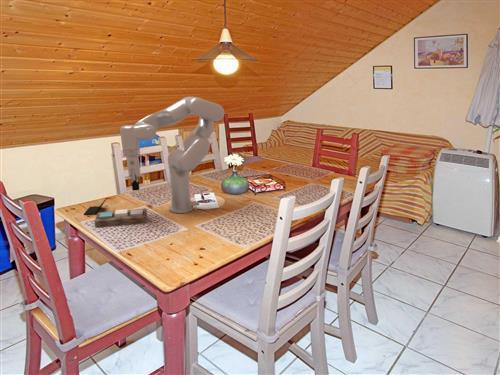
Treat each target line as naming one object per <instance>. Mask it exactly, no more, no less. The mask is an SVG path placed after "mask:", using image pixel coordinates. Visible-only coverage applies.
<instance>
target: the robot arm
mask: <svg viewBox="0 0 500 375" xmlns="http://www.w3.org/2000/svg"><path fill="white" fill-rule="evenodd" d="M190 116H198V117H199V120H198V123H197V125H196V127H194V129H193V130H192V131H191V132H190V133H189V134H188V135H187V136H186V138H185V139H183V142H182V144H183V148H184V150H182V149H180V148H179V149H173V150H171V151H170V152H169V153H168V155H167V166H168V170H169V179H170V180H169V181H170V194H171V195H170V196H171V197H170V198H171V205H170V206H169V207H168V211H170V212H171V213H174V214H184V213H190V212H192V211H193V210H194V208H195V207H196V206H200V201H197V200H193V201H192V199H191V192H190V191H191V190H190V189H191V188H190V187H191V186H190V174H189V173H190V172H192V171H193V170H195V168H196V167H197V166H198V165H199V164H200V163H201V162H202V161H203V160H204V158H205V157H206V156H207V155H208V153H209V152H210V150H211V149H210V148H211V144H210V141H209V138H210V137H211V135H212V134H213V132H214V128H215V127H214V126H215V123H214V122H219V121H221V120H222V119H223V118H224V116H225V110H224V107H223V105H220V104H219V103H215V102H212V101H210V100H207V99H203V98H200V97H197V96H186V97H183V98H181V99H180V100H178V101H177V102H175V103H172V105H169V106H168V107H166V108H164V109H161V110H158V111H156V112H154V113H152V114H149V115H147V116H145V117H144V118H142V119H140V120H138V121H136V122H135V123H134V124H127V125H122V126H120V129H119V132H120V140H121V148H122V154H123V157H125V158H126V165H127V172H128V177H129V178H130V180H131V190H132V191H133V192H134V191H139V190H140V183H139V182H140V181H139V178H140V177H141V166H140V159H139V156H141V152H140V151H141V150H140V142H139V141H151V140H153V139H155V138H156V135H157V130H156V129H159V128H162V127H163V128H164V127H169V126H174V125H176V124H178V123H179V122H181V121H183V120H185V119H186V118H188V117H190ZM194 206H195V207H194Z"/></svg>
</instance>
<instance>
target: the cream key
mask: <svg viewBox="0 0 500 375" xmlns="http://www.w3.org/2000/svg"><path fill="white" fill-rule="evenodd" d="M128 210H129V209H128V208H125V209H123V208H122V209H115V210H114V211H115V218H116V217H126V216H127V217H128Z"/></svg>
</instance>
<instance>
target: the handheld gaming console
mask: <svg viewBox="0 0 500 375" xmlns="http://www.w3.org/2000/svg"><path fill="white" fill-rule="evenodd" d="M106 201H107V198H105V199H104V200H103V201H102V202H101V204H100V205H99V206H96V205H94V206H89V207H88V209H86V210H85V211H84V212H83V216H97V214H98V213H99V212H100V211H101V209H102V206H103V205H104V203H105V202H106Z"/></svg>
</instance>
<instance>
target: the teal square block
mask: <svg viewBox="0 0 500 375" xmlns="http://www.w3.org/2000/svg"><path fill="white" fill-rule="evenodd" d="M104 212H105V213H100V216H99V219H105V218H113V212H111V211H104Z"/></svg>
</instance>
